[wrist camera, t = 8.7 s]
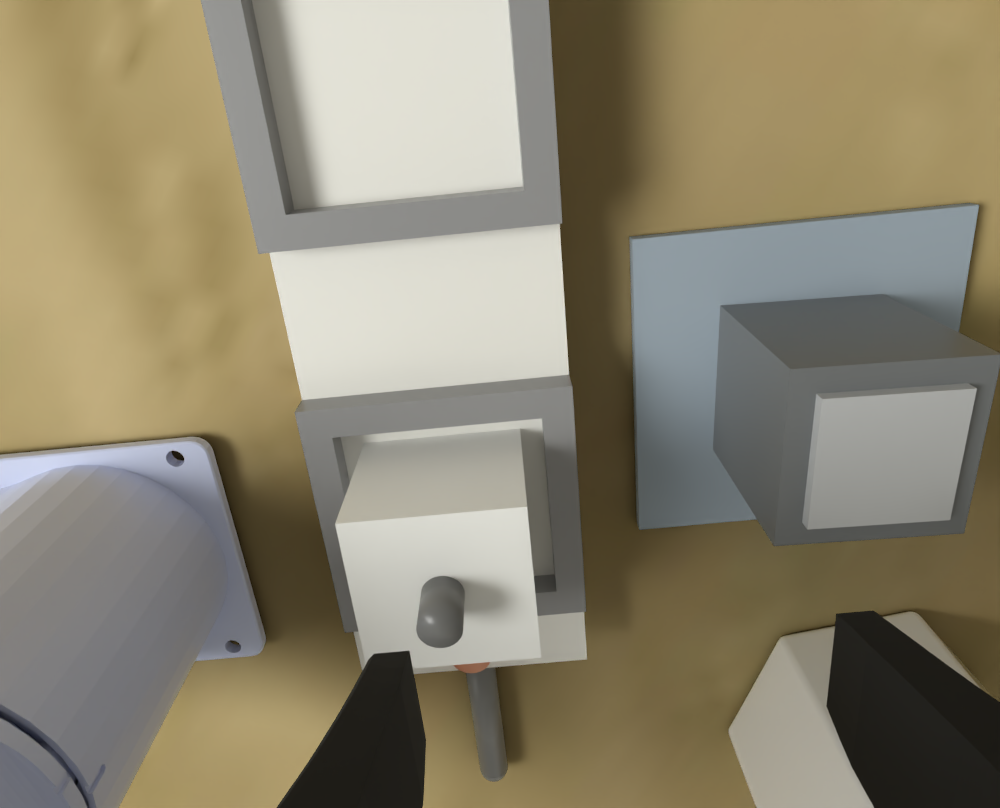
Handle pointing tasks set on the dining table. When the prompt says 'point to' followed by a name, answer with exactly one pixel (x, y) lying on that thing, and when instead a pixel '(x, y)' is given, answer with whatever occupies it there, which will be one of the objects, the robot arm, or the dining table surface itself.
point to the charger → (850, 417)
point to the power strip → (416, 255)
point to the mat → (755, 279)
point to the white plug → (441, 549)
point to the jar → (808, 722)
